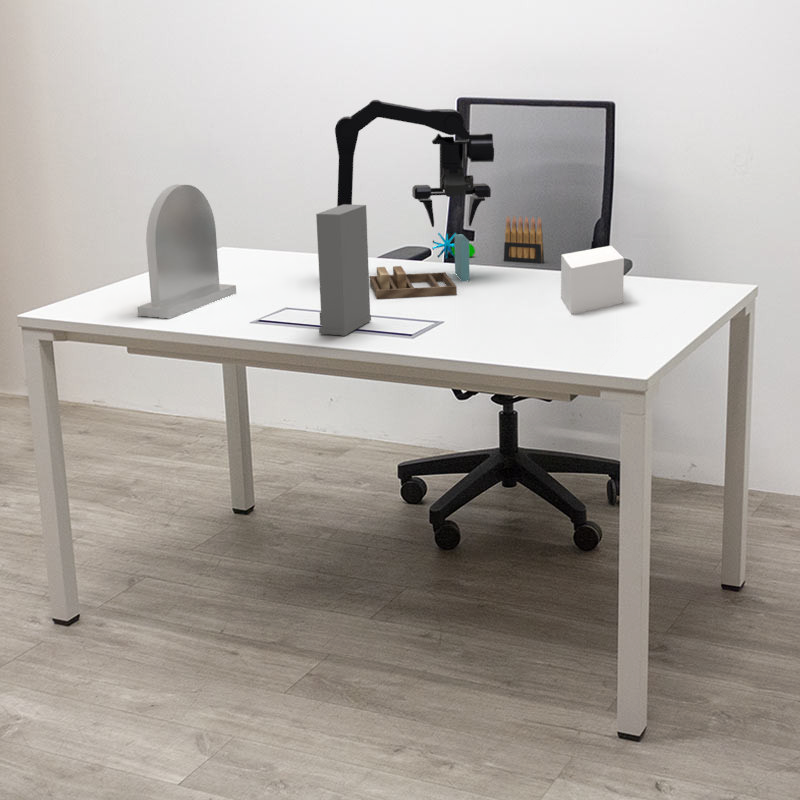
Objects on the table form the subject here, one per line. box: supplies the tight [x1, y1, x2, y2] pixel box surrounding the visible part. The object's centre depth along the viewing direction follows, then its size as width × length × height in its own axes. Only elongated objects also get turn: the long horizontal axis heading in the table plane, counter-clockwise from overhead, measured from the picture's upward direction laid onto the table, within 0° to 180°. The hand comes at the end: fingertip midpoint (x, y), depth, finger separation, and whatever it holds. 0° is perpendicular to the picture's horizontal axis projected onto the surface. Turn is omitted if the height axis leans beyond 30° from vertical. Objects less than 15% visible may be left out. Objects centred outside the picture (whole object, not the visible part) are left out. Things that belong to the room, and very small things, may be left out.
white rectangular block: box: [560, 245, 625, 315], centre depth 280 cm, size 14×29×10 cm, turn 154°
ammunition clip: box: [503, 215, 545, 265], centre depth 326 cm, size 11×2×12 cm, turn 62°
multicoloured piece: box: [432, 231, 476, 260], centre depth 339 cm, size 12×7×8 cm
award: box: [137, 184, 237, 320], centre depth 285 cm, size 28×9×28 cm, turn 155°
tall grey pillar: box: [315, 204, 372, 337], centre depth 259 cm, size 14×6×25 cm, turn 159°
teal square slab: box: [454, 233, 470, 282], centre depth 309 cm, size 2×10×10 cm, turn 6°
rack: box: [369, 271, 458, 300], centre depth 298 cm, size 19×18×2 cm
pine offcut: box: [376, 266, 390, 290], centre depth 297 cm, size 2×10×5 cm, turn 7°
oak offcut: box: [392, 265, 407, 289], centre depth 297 cm, size 2×10×5 cm, turn 7°
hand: (451, 226), depth 308 cm, fingers open, 9 cm apart
